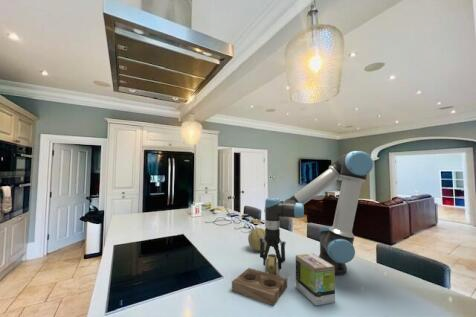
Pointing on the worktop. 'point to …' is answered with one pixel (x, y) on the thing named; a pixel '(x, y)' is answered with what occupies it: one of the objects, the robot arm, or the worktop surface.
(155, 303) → the worktop surface
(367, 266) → the worktop surface
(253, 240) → the cantaloupe
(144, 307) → the worktop surface
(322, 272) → the tea box
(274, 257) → the bushing
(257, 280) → the jig
